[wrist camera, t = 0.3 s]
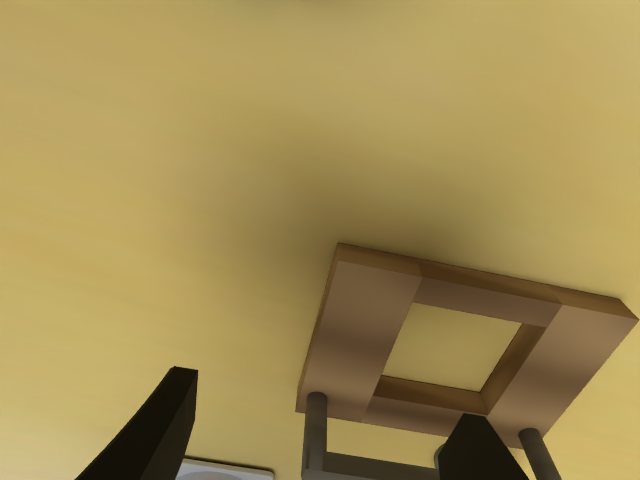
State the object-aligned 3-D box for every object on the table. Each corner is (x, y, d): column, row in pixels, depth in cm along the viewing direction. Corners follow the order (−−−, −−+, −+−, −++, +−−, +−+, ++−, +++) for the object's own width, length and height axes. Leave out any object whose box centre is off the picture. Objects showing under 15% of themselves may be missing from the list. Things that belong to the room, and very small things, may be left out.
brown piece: (521, 427, 26) (567, 531, 21) (297, 389, 25) (287, 489, 20) (619, 298, 21) (714, 396, 16) (337, 242, 20) (339, 327, 14)
